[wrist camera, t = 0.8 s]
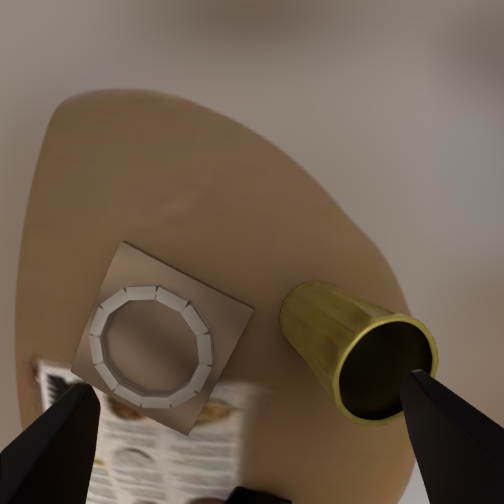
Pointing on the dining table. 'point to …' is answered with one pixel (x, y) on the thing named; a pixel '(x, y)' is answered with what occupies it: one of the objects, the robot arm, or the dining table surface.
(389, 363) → the vase
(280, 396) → the dining table surface
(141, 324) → the socket board
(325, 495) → the dining table surface
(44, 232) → the dining table surface
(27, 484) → the robot arm
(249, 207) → the dining table surface
